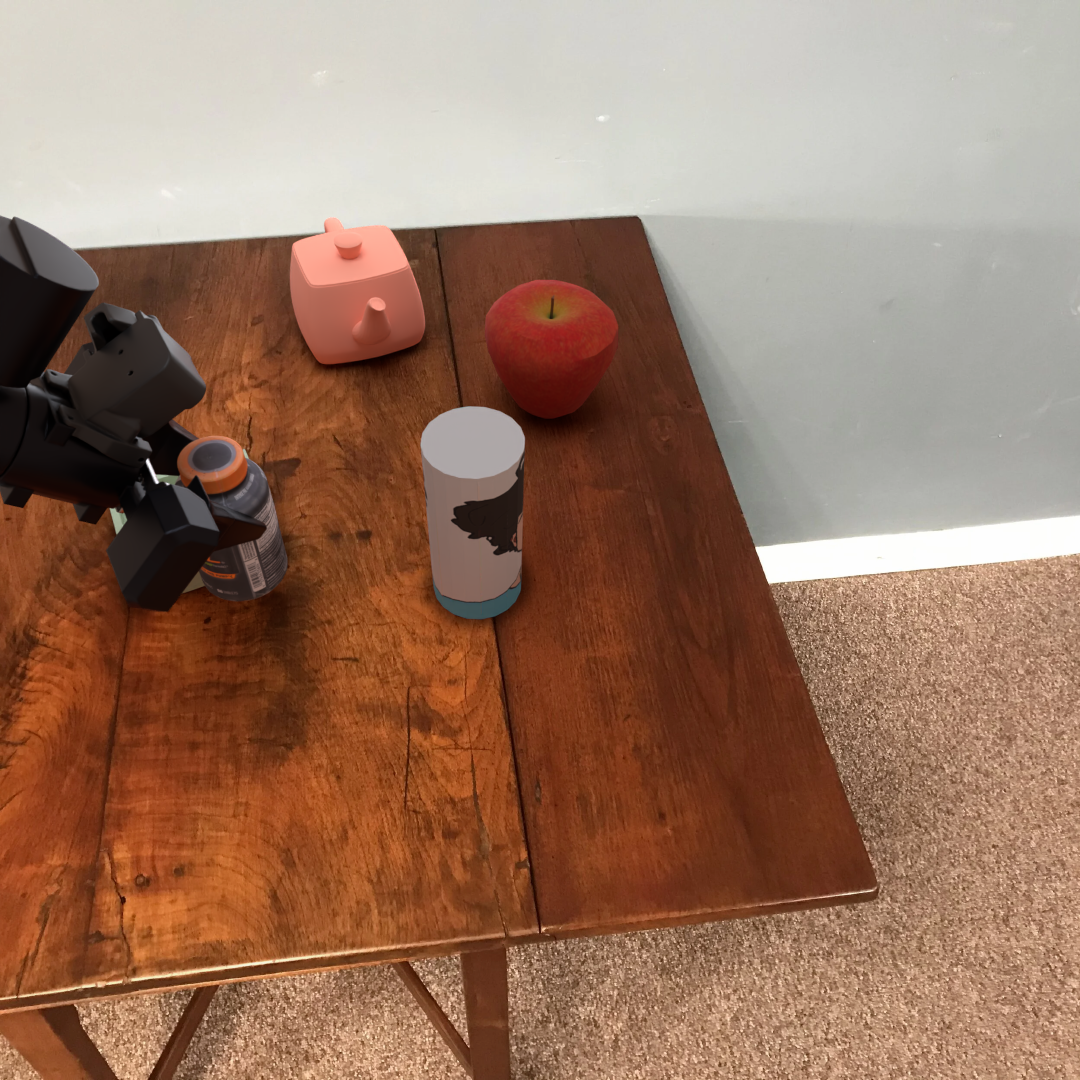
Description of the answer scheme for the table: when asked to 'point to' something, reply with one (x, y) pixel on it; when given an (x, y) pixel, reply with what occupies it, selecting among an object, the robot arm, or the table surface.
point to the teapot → (354, 293)
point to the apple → (550, 345)
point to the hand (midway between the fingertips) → (246, 500)
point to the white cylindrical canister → (474, 509)
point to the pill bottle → (248, 492)
